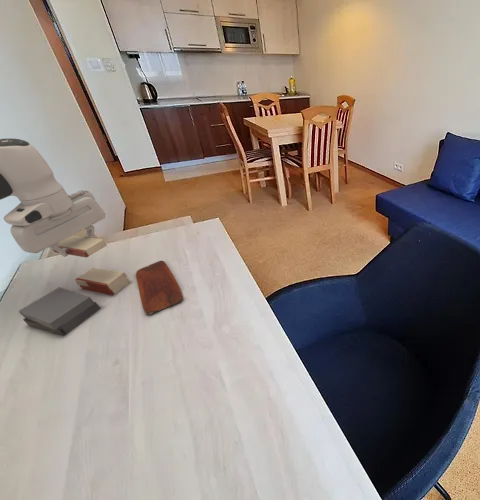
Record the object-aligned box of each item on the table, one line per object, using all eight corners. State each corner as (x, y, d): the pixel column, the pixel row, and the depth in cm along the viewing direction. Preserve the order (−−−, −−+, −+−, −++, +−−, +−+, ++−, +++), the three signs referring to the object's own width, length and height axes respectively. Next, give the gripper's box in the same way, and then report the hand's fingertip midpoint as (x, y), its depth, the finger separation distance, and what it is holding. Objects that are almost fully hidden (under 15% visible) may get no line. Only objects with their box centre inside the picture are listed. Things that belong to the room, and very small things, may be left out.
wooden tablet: (185, 301, 86) (183, 296, 85) (146, 318, 81) (143, 314, 80) (167, 259, 104) (165, 255, 103) (134, 272, 99) (132, 268, 98)
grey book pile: (26, 326, 82) (13, 313, 79) (67, 299, 90) (57, 286, 87) (63, 337, 78) (51, 324, 75) (103, 307, 86) (93, 294, 83)
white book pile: (81, 289, 93) (73, 279, 91) (101, 276, 99) (94, 266, 96) (112, 296, 90) (105, 286, 87) (131, 282, 95) (125, 272, 93)
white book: (54, 252, 86) (50, 246, 85) (75, 240, 91) (71, 235, 89) (86, 257, 82) (82, 251, 81) (107, 245, 87) (103, 239, 86)
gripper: (80, 187, 87) (105, 228, 95) (-6, 221, 71) (33, 267, 79) (95, 188, 85) (120, 230, 93) (11, 223, 70) (49, 270, 77)
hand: (80, 247), depth 86 cm, fingers closed on white book, 6 cm apart
